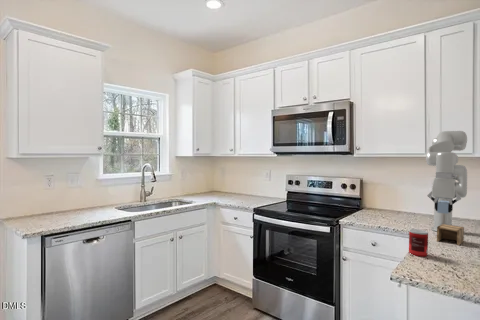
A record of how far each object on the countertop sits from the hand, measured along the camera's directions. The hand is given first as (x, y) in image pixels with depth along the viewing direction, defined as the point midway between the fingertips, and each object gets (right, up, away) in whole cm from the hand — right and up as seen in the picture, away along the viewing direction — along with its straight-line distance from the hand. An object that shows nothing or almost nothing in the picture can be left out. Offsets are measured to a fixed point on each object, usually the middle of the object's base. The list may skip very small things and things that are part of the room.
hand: (443, 210), depth 154 cm
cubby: (+12, -19, +12) cm, 25 cm away
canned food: (-21, -18, -13) cm, 31 cm away
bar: (+2, -1, +3) cm, 4 cm away
